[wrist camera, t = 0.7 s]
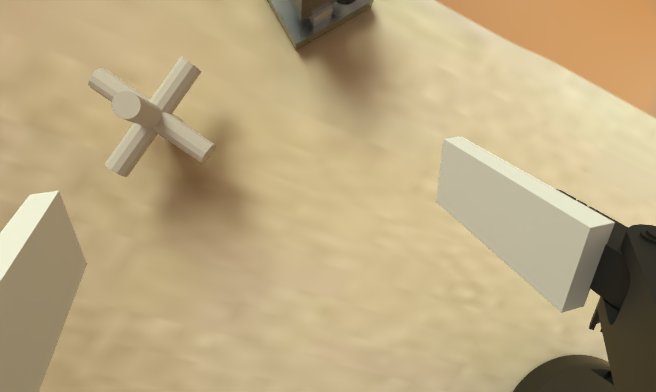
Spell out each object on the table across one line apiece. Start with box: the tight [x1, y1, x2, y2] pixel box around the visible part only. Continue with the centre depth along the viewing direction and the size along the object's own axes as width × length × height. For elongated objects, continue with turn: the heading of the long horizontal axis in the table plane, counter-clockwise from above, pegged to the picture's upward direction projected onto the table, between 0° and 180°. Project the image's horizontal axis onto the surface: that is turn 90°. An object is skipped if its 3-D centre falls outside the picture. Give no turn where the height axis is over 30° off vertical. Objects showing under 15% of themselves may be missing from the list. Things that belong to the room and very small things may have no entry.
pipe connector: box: [88, 57, 215, 177], centre depth 31 cm, size 10×10×10 cm
